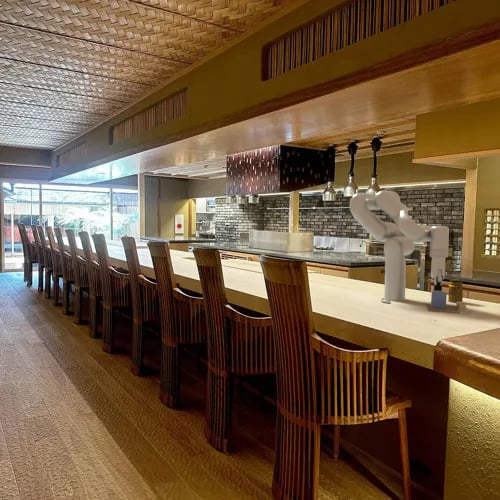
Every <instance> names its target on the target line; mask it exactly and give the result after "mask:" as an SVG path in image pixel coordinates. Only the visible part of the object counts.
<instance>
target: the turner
mask: <svg viewBox="0 0 500 500" xmlns="http://www.w3.org/2000/svg"><path fill="white" fill-rule="evenodd" d="M455 306H456V307H457V308H458V309H459V310H458V311H459V312H460V313H461V314H463V315H472V313H471V311H469V310H468V309H467V305H466V304H465V303H464V302H463V301H462V302H456V303H455ZM466 309H467V310H466Z"/></svg>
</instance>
